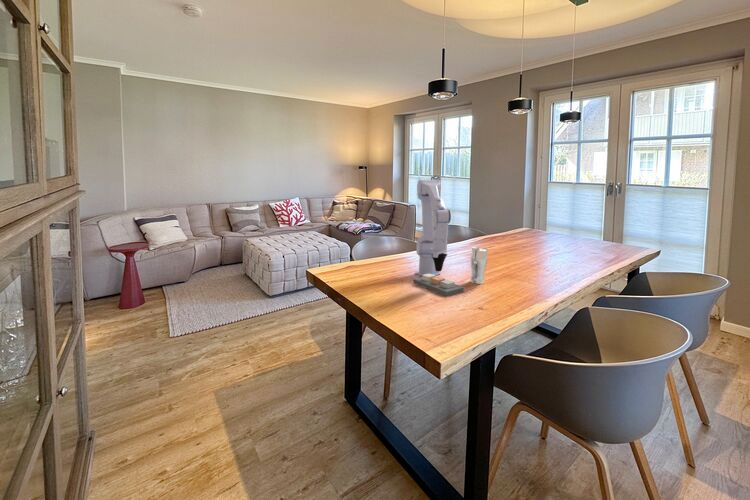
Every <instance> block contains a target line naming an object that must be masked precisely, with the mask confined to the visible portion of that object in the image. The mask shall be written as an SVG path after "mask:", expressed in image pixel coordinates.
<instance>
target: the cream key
mask: <svg viewBox="0 0 750 500" xmlns="http://www.w3.org/2000/svg"><path fill="white" fill-rule="evenodd" d="M421 277H422V280H425V281H427V282H430V281H431V278H434V277H437V275H432V274H424V275H422V276H421Z"/></svg>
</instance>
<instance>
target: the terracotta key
mask: <svg viewBox="0 0 750 500" xmlns="http://www.w3.org/2000/svg"><path fill="white" fill-rule="evenodd" d="M444 280H446V279H445V278H444V277H441V276H436V277H434V278H431V283H433V284H436V285H441V281H444Z"/></svg>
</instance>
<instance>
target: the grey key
mask: <svg viewBox="0 0 750 500" xmlns="http://www.w3.org/2000/svg"><path fill="white" fill-rule="evenodd" d="M455 284H456V283H455V281H453V280H449V279H445V280H444V281H441V285H440V286H441V287H444V288H446V289H449V288H454V287H455Z"/></svg>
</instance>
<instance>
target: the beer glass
mask: <svg viewBox="0 0 750 500" xmlns="http://www.w3.org/2000/svg"><path fill="white" fill-rule="evenodd" d="M470 253H471V254H470V267H471V276H470V279H469V282H470V283H471V284H475V285H482V284H484V283H485V272H486V268H487V263H488V248H485V247H472V248H471V252H470Z"/></svg>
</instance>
